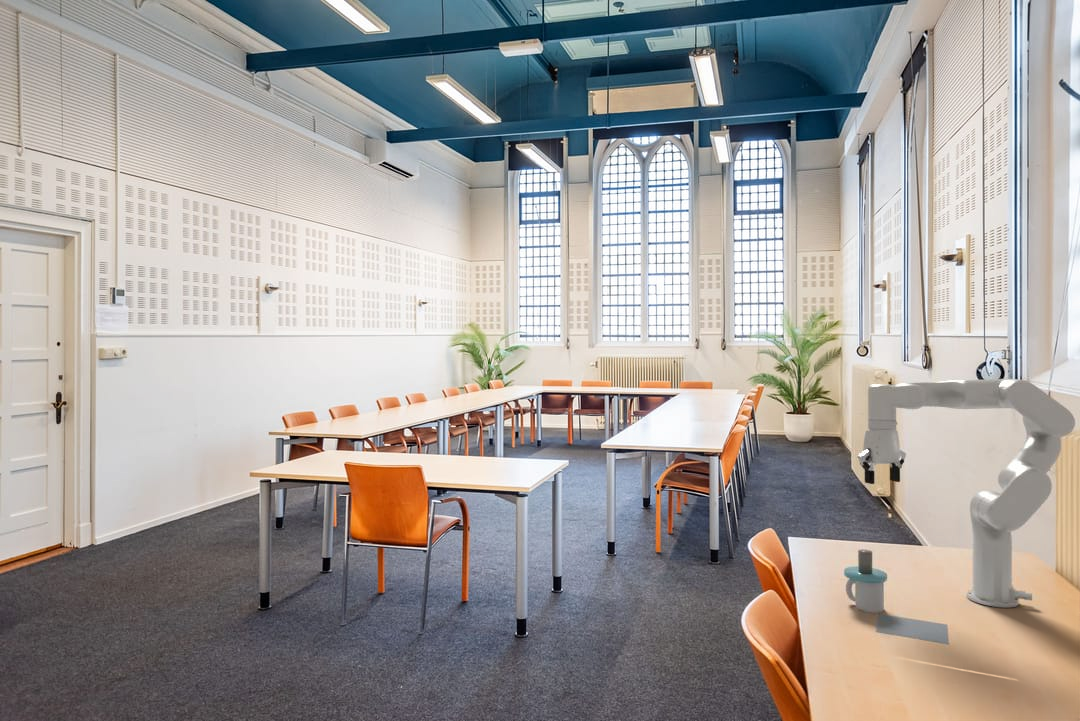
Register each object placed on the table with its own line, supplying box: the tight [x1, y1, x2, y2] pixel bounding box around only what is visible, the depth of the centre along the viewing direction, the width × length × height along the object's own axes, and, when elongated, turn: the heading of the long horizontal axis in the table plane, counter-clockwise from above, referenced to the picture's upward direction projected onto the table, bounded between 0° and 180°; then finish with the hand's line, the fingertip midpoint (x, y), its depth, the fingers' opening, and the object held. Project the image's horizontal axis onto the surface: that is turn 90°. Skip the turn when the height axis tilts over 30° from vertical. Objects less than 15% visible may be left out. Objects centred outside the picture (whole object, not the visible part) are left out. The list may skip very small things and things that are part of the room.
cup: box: [845, 578, 885, 614], centre depth 192 cm, size 7×10×9 cm
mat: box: [875, 613, 950, 645], centre depth 177 cm, size 16×14×1 cm
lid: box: [843, 549, 888, 583], centre depth 192 cm, size 11×11×7 cm
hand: (882, 482), depth 204 cm, fingers open, 9 cm apart
